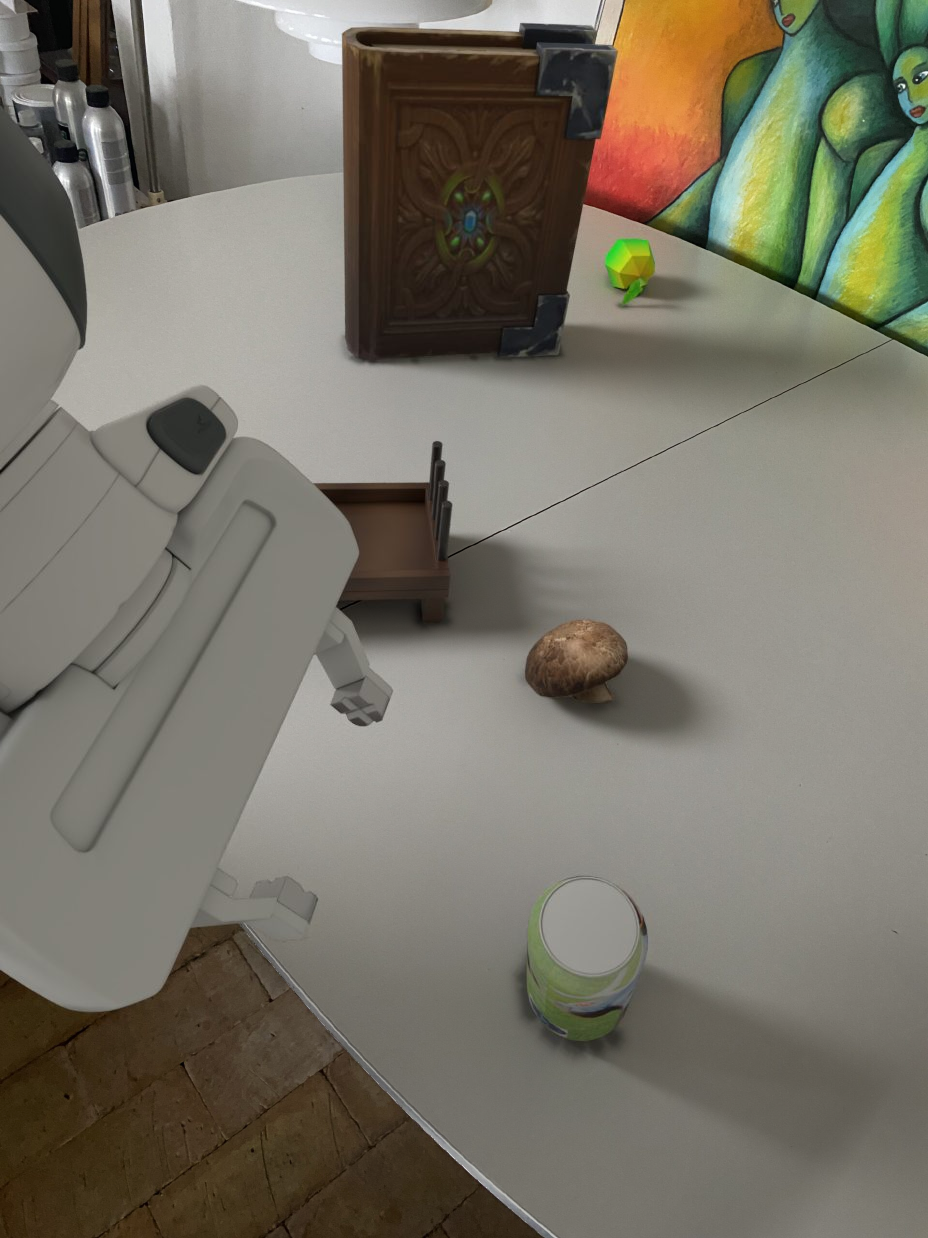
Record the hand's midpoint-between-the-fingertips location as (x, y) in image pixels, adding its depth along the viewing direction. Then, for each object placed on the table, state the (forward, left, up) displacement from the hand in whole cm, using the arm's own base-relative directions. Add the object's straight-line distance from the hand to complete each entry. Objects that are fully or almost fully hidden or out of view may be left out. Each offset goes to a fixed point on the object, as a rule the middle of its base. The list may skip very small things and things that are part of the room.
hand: (343, 806), depth 34 cm
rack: (+1, +34, -22) cm, 41 cm away
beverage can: (+13, -1, -23) cm, 26 cm away
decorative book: (+14, +70, -23) cm, 75 cm away
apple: (+38, +83, -23) cm, 94 cm away
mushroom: (+18, +22, -23) cm, 36 cm away
